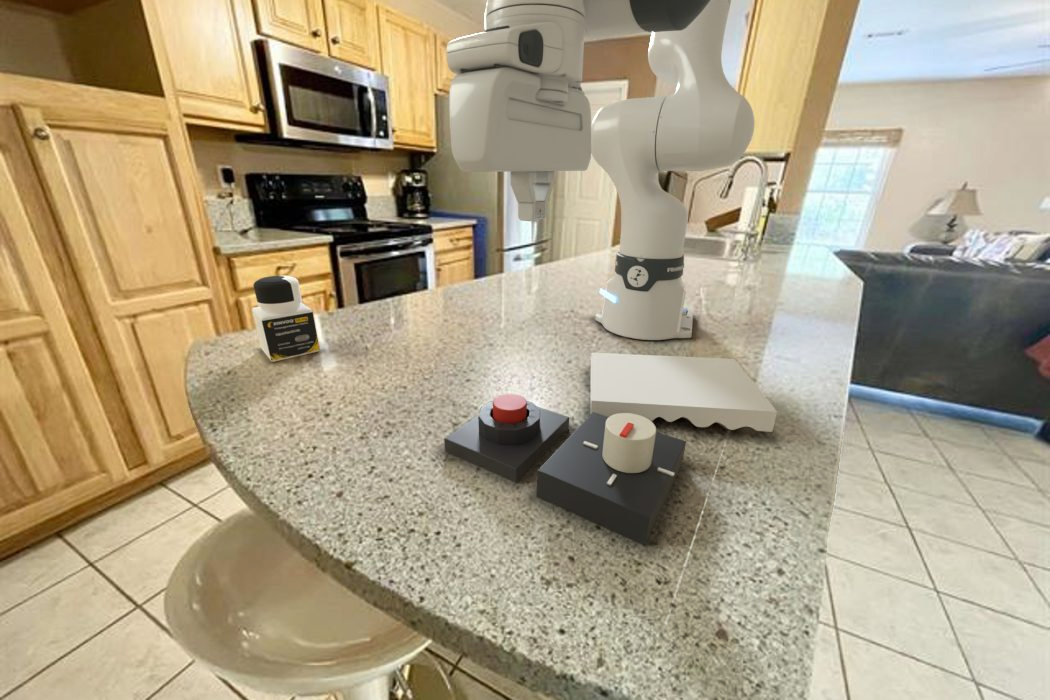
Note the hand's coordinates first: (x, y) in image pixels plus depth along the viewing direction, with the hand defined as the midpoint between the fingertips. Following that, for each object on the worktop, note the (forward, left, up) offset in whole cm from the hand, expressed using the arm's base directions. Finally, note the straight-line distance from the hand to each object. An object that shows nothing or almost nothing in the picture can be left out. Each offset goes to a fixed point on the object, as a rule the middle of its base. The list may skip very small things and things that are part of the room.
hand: (532, 219), depth 44 cm
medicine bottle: (+6, -42, -23) cm, 48 cm away
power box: (+7, +2, -23) cm, 24 cm away
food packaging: (-12, +14, -23) cm, 29 cm away
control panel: (+7, +14, -23) cm, 27 cm away
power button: (+7, +2, -20) cm, 21 cm away
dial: (+7, +15, -20) cm, 26 cm away
